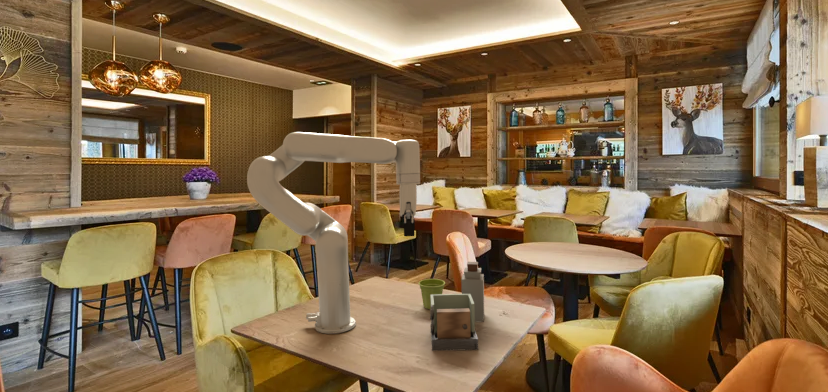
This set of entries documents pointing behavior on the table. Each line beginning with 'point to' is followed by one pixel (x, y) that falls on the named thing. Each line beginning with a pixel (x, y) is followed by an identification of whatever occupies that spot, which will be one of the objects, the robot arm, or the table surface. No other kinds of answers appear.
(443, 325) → the door
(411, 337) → the table surface
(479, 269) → the perfume bottle
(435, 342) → the grey brown open box
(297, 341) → the table surface
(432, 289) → the plant pot
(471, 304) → the box
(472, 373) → the table surface
